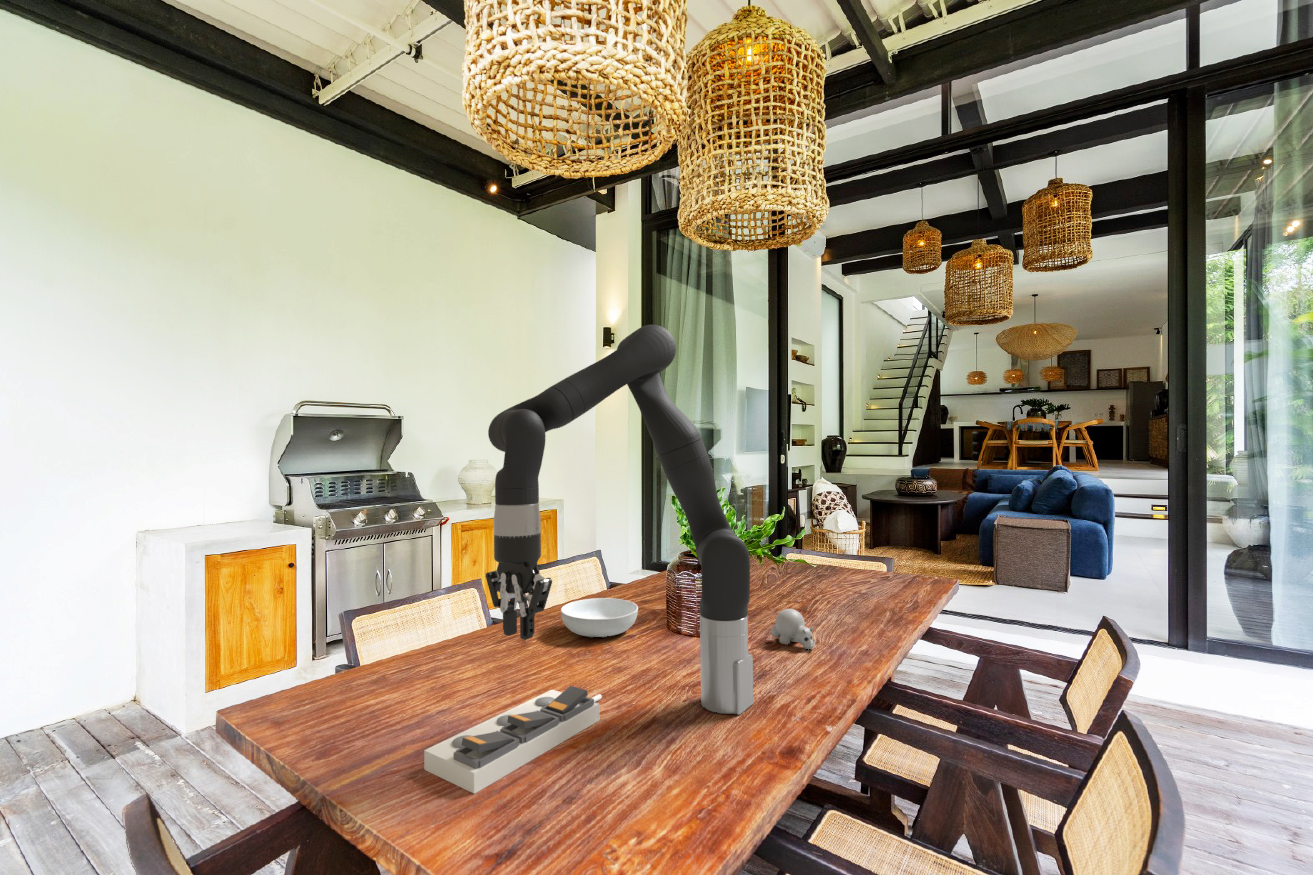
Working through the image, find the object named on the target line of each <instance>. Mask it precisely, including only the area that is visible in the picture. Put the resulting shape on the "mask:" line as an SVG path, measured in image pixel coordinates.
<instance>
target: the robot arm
mask: <svg viewBox="0 0 1313 875" xmlns="http://www.w3.org/2000/svg"><path fill="white" fill-rule="evenodd" d="M676 352H677V344H676V341H675V339H674V336H673V335H672V333H671V332H670V331H669V330H668V329H666V328H665V327H663V326H661V325H659V324H658V325H657V324H647V325H643V326H641V327H639V328H637V329H636V330H634V331H633V332H632V333H630V334H629V335H627V336H626V337H625V338H623V339H622V340H621V341H620V342H619V344H618V345H617V348H616V350H614V351H613V352H612V353H610V354H608V355H606V356H605V357H603V358H601V359H600V360H598V361H596V362H593V363H592V364H590V365H588V366H586V367H585V368H583V369H581V370H579V371H577V372H575V373H572V374H571V375H569V376H567V377H565V378H564V379H562V380H560V381H558V382H556V383H554V384H553V385H551V386H549V387H548V388H547V389H545V390H543V391H542V392H540V393H539V394H537V395H535V396H533V397H531V398H529V399H526V400H524V401H522V402H521V401H520V403H517V404H515V405H513V406H511V407H509V408H507V409H504V410H502V411H501V412H500V413H498V414H497V415H495V416H494V418H492V420H491V422H490V423H489V425H488V431H487V432H488V433H487V434H488V439H489V442H490V443H491V445H492V446H493V447H494V448H495V449H497V450H498V451H501V452H503V453H504V458H503V467H502V468H501V469H499V470H498V471H497V472H496V475H495V481H494V493H495V494H494V498H495V499H494V503H495V505H494V515H493V559H494V561H495V562H497V563H498V564H497V568H496V569H495V570H493V571H489V572H488V571H487V572H486V574H485V578H486V584H487V586H488V590H489V591H488V592H489V594H490V598H491V602H492V605H493V607H494V608H499V609H500V612H501V613H502V629H503V635H505V636H508V637H509V636H512V635H515V634H517V631H518V611H517V610H516V609H517V604H518V606H519V612H520V617H519V624H520V625H519V632H520V634H519V635H520V639H521V640H524V641H527V640H529V639H531V638H533V636H534V634H535V628H536V627H535V616H536V614H538V613H540V612H543V611H545V608H546V604H547V601H548V598H549V594H550V591H551V587H552V584H553V580H552V578H551V577H544V576H542V575H541V574H540V568H539V567H538V566H539V565H538V561H539V560H540V558H541V556H542V545H541V544H542V542H541V541H542V539H541V538H542V536H541V535H542V533H541V531H542V530H541V529H542V528H541V524H542V523H541V519H542V518H541V512H540V511H541V510H540V504H539V503H540V492H539V490H540V489H539V476H540V472H541V468H542V464H543V458H544V453H545V447H546V433H547V432H550V431H552V430H555V429H556V430H557V429H560V428H562V427H564V426H567V425H568V424H570V423H571V422H573V421H575V420H576V419H578V418H580V417H581V416H582V415H584V414H586V413H587V412H589V411H590V410H592V409H593V408H595V406H597V405H599V404H600V403H602V402H603V401H604V400H605V399H606V398H608V397H610V396H611V395H612V394H614V393H616V392H617V391H619V390H620V389H621V388H623V387H624V386H626V385H627V387H628V389H629V390H630V392H631V395H632V396H633V398H634V400H635V402H636V404H637V406H638V409H639V412H640V413H641V416H642V418H643V420H644V423H645V426H646V428H647V430H648V433H649V435H650V437H651V440H652V443H653V446H654V448H655V452H656V454H657V457H658V460H659V462H660V465H661V467H662V469H663V472H664V474H665V477H666V479H667V481H668V484H669V485H670V487H671V489H672V492H673V494H674V496H675V497H676V499H677V501H678V503H679V505H680V507H681V508H682V510H683V513H684V515H685V518H686V520H687V523H688V526H689V530H690V533H691V535H692V540H693V543H694V548H695V551H696V556H697V560H698V562H699V564H700V566H701V567H700V568H701V594H700V599H699V600H700V601H699V639H700V641H699V642H700V643H699V645H700V646H699V648H700V656H699V657H700V700H701V702H700V703H701V705H702V707H703V708H704V707H705V708H706V710H707V711H710V712H713V713H716V712H717V714H723V715H725V714H730V715H731V714H734V715H742V713H744V711H746V710H747V709H749V708H750V707H751V706H752V705H753V704H754V674H753V673H754V672H753V671H754V668H753V667H754V665H753V658H754V657H753V654H752V653H749V627H748V626H749V624H748V623H749V622H748V617H749V615H748V614H749V611H748V610H749V608H748V607H749V603H750V600H751V598H750V597H751V559H750V553H749V550H748V546H747V545H746V543H745V542H744V541H743V540H742V539H741V538H740V537H739V536H737V535H736V534H735V532H734V530H733V529H732V527H731V525H730V522H729V521H728V519H727V516H726V515H725V513H724V510H723V508H722V506H721V503H720V499H719V497H718V496H719V495H718V491H717V487H716V480H715V476H714V470H713V467H712V463H711V459H710V457H709V453H708V451H707V449H706V446H705V443H704V441H703V439H702V437H701V434H700V432H699V429H697V427H696V425H694V423H693V422H692V421H691V419H689V418H688V416H686V414H685V413H683V412H682V411H681V410H680V409H679V408H678V406H677V405H676V404H675V403H674V402H673V401H672V399H671V397H670V396H669V394H668V392H667V391H666V388H665V385H664V383H663V380H662V377H661V375H660V373H661V372H663V371H664V370H665V369H667V368H668V367H670V365H671V364H672V363H673V361H674V359H675V357H676V354H677V353H676ZM498 592H499V594H498ZM527 604H528V607H527ZM705 708H704V709H705Z"/></svg>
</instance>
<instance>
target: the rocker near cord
mask: <svg viewBox="0 0 1313 875" xmlns="http://www.w3.org/2000/svg"><path fill="white" fill-rule="evenodd" d="M585 697H589V694H588V689H587V690H586V689H583V688H581V687H577V686H573V685H569V687H567V688H566V689H565V690H564V691H563V692H562V693H561V694H560V695H559V696H558V697H557V698H556V699H554V700H553V701H552V702H551V703H550V704H549V705H547V709H548V710H551V711H554V712H557V713H560V714H565V713H567V712H569V711H571V710H572V709H573V708H574V707H575V706H577V705H578V704H579V703H580V702H581V701H582V700H583V699H584V698H585Z"/></svg>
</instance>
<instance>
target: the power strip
mask: <svg viewBox="0 0 1313 875" xmlns="http://www.w3.org/2000/svg"><path fill="white" fill-rule="evenodd" d="M561 693H563V692H562V691H558V690H556V689H555V690H554V689H550V690H548V691H546V692H544V693H542V694H540V695H538V696H536V697H533V698H531V699H530V700H527V701H524V702H523V703H521V704H519V705H516V706H514V707H512V708H510V709H509V710H508V709H507V710H505V711H504V712H502V713H499V714H498V715H495V716H493V717H491V718H489V719H487V720H485V721H482V722H481V723H479V724H476V725H474V726H472V727H469V728H468V729H466V730H464V731H461V732H459V733H457V734H455V735H453V736H451V737H449V738H447V739H445V740H443V741H440V742H438V743H437V744H434V745H433V746H430V747H428V748H426V749H424V752H423V754H424V757H423V760H424V762H423V763H424V765H423V768H424V770H425V771H427V772H428V773H430V774H432V775H434V776H437V777H439V778H441V779H443V780H445V781H446V782H449V783H452V784H453V785H455V786H457V787H459V788H461V789H464V790H465V791H468V792H470V793H471V794H474V795H475V794H477V793H478V792H480V791H482V790H484V789H485V788H487V787H489V786H491V785H492V784H494V783H495V782H497V781H499V780H500V779H502V778H504V777H506V776H507V775H509V774H511V773H512V772H514V771H516V770H517V769H520V768H521V767H522V766H524V765H526V764H528V763H529V762H531V761H533V760H534V759H536V758H538V757H540V756H541V755H543V754H545V753H547V752H549V750H551V749H553V748H555V747H557V746H558V745H560V744H561V743H563V742H565V741H567V740H568V739H570V738H572V737H574V736H575V735H577V734H578V733H580V732H582V731H584V730H586V729H587V728H589V727H591V726H592V725H594V724H596V723H598V722H599V721H600V720H601V718H600V712H601V711H600V703H599V702H598V701H600V700H601V699H603V698H602V697H603V696H602V694H601V693H597V694H596V695H595V696H592V697H589V696H587V697H585V698H584V699H583V700H582V701H581V702H580V703H579V704H578V705H577V706H575V707H574V708H573V709H572V710H571V711H569V712H567V713H565V714H560V713H557V712H554V711H551V710H548V709H547V705H549V704H550V703H551V702H552V701H553V700H554V699H556V698H557V697H558V696H559V695H560V694H561ZM529 712H539V713H542V714H545V715H548V716H551V717H553V719H552V721H550V722H548V723H547V724H545V725H540V726H535V727H530V728H521V727H519V726H516V725H513V724H510V723H508V722H507V721H508V716H510V715H517V714H523V713H529ZM493 732H496V733H499V734H501V735H504V736H507V737H509V738H512V742H511V743H509V744H507V745H506V746H504V747H501V748H497V749H492V750H487V751H483V752H477V751H474V750H472V749H470V748H467V747H465V746H462V739H463V738H465V737H470V736H476V735H482V734H487V733H493Z"/></svg>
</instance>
